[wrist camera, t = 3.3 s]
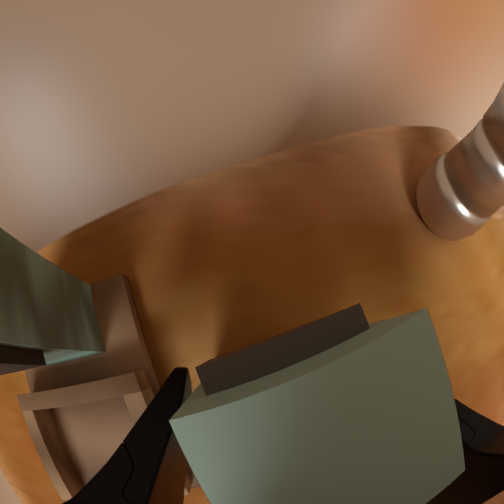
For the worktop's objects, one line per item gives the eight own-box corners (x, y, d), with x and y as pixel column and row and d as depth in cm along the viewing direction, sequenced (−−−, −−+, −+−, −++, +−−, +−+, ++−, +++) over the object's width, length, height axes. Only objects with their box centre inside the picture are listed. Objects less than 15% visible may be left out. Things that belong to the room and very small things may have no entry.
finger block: (312, 401, 14) (465, 469, 3) (238, 430, 13) (265, 579, 2) (284, 331, 16) (414, 277, 4) (209, 358, 15) (153, 382, 3)
